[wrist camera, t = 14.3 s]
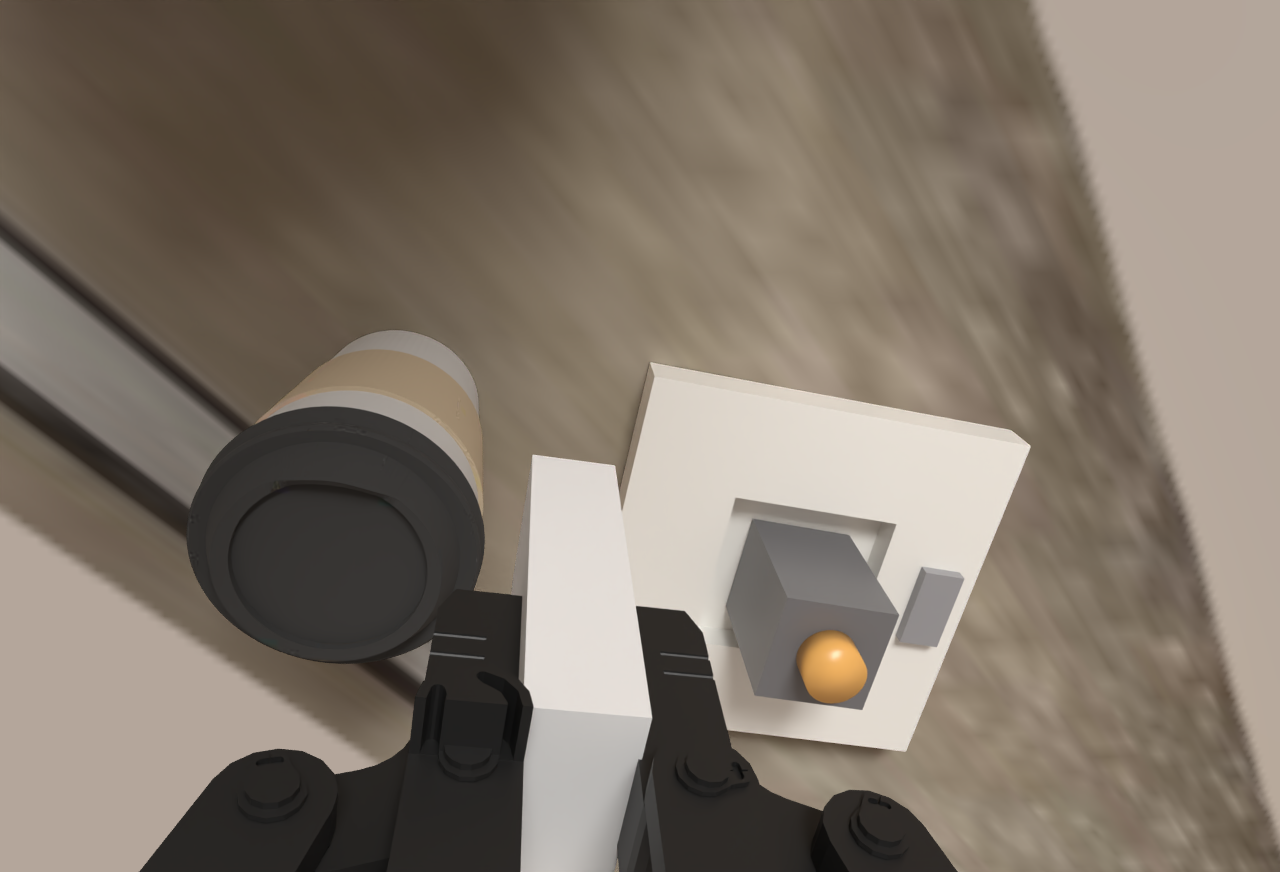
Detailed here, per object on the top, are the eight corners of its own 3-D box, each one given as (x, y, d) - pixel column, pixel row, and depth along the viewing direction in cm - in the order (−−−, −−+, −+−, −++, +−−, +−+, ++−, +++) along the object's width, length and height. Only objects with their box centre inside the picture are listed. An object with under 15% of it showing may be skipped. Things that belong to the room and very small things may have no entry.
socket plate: (649, 362, 41) (656, 380, 39) (1010, 430, 44) (1037, 451, 42) (573, 686, 47) (574, 719, 45) (892, 726, 50) (909, 759, 48)
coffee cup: (488, 505, 43) (459, 716, 29) (290, 479, 42) (161, 688, 28) (516, 322, 40) (498, 462, 26) (302, 287, 38) (163, 415, 25)
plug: (752, 518, 44) (796, 618, 36) (849, 534, 45) (912, 635, 37) (725, 605, 46) (762, 718, 38) (819, 620, 47) (873, 733, 39)
